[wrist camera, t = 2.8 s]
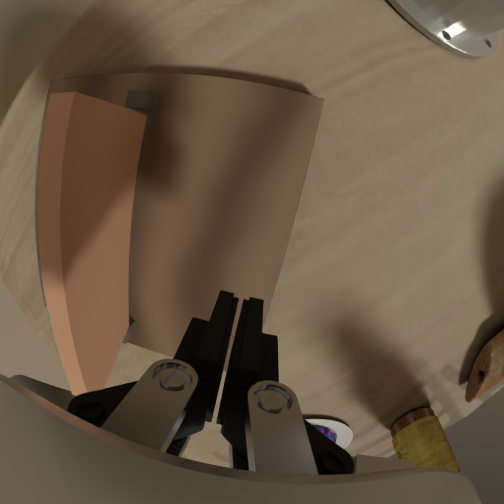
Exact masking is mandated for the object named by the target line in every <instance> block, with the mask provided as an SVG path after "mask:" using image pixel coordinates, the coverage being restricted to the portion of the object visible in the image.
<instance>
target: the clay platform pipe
mask: <svg viewBox="0 0 504 504" xmlns="http://www.w3.org/2000/svg"><path fill="white" fill-rule="evenodd" d="M503 379H504V329H503V330H502V331H501V332H499V333H498V334H497V335H496V336H494V337H493V338H492V339H491V340H489V342H488V343H487V344H486V345H485V346H484V348H483V349H482V350H481V352H480V353H479V355H478V356H477V358H476V360H475V362H474V364H473V368H472V370H471V373H470V376H469V379H468V384H467V387H466V395H465V399H466V401H467V402H468V403H470V402H472V401H473V400H474V399H476V398H477V397H479V396H480V395H482V394H483V393H485V392H486V391H488V390H489V389H491V388H492V387H494V386H495V385H496V384H498V383H499V382H501V381H502V380H503Z"/></svg>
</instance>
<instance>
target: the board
mask: <svg viewBox="0 0 504 504" xmlns="http://www.w3.org/2000/svg"><path fill="white" fill-rule="evenodd" d="M64 92H77V93H81V94H84V95H88V96H91V97H94V98H97V99H100V100H103V101H107V102H110V103H113V104H115V105H118V106H121V107H124V108H127V109H130V110H133V111H135V112H138V113H141V114H143V115H146V116H147V119H146V124H145V129H144V134H143V139H142V144H141V150H140V156H139V162H138V169H137V176H136V183H135V191H134V200H133V209H132V220H131V233H130V250H129V282H128V300H129V328H128V330H127V332H126V334H125V337H124V339H123V341H122V343H125V344H126V342H129V343H132V344H134V345H137V346H140V347H143V348H146V349H149V350H152V351H155V352H158V353H161V354H164V355H167V356H171V357H174V356H175V354H176V351H177V349H178V347H179V345H180V343H181V341H182V338H183V336H184V334H185V332H186V330H187V328H188V326H189V323H190V321H191V319H192V318H193V317H195V318H199V319H203V320H207V321H209V320H210V317H211V314H212V312H213V309H214V306H215V304H216V301H217V298H218V296H219V293H220V290H223V291H227V292H232V293H234V297H237V298H239V301H238V305H237V310H236V314H235V319H234V323H233V328H232V332H231V337H230V341H229V346H228V350H227V355H226V360H225V364H224V368H223V371H227V368H228V363H229V358H230V353H231V349H232V345H233V341H234V337H235V332H236V328H237V324H238V320H239V316H240V312H241V307H242V303H243V299H246V300H249V297H254V298H258V299H263V300H264V305H263V325H262V330H263V326H264V323H265V320H266V317H267V313H268V310H269V307H270V303H271V300H272V297H273V293H274V290H275V286H276V283H277V280H278V276H279V273H280V269H281V266H282V262H283V259H284V255H285V252H286V248H287V244H288V241H289V237H290V234H291V230H292V226H293V223H294V219H295V215H296V211H297V208H298V204H299V200H300V196H301V192H302V188H303V185H304V181H305V177H306V173H307V169H308V165H309V161H310V157H311V153H312V148H313V144H314V140H315V136H316V132H317V127H318V123H319V119H320V114H321V110H322V106H323V101H324V99H323V98H320V97H316V96H313V95H309V94H305V93H302V92H298V91H294V90H289V89H285V88H281V87H276V86H271V85H267V84H261V83H256V82H250V81H244V80H238V79H231V78H223V77H215V76H206V75H194V74H179V73H117V74H102V75H92V76H83V77H75V78H68V79H62V80H56V81H51V83H50V87H49V91H48V95H47V100H46V104H45V109H44V114H43V120H42V126H41V132H40V139H39V147H38V156H37V167H36V184H35V228H36V244H37V256H38V265H39V273H40V280H41V287H42V293H43V299H44V304H45V306H46V301H45V295H44V289H43V283H42V276H41V268H40V259H39V248H38V233H37V180H38V165H39V154H40V145H41V138H42V131H43V125H44V119H45V114H46V109H47V104H48V101H49V98H50V94H52V93H64ZM46 307H47V306H46Z"/></svg>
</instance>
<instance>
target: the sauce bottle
mask: <svg viewBox="0 0 504 504" xmlns="http://www.w3.org/2000/svg"><path fill="white" fill-rule="evenodd" d="M391 435H392V438H393V440H392V443H393V446H394V449H395V452H396V456H397V459H405V460H409V461H411V462H412V463H414V465H415V466H416V467H438V468H445V469H450V470H454V471H457V472H460V468H459V466H458V463H457V461H456V459H455V456H454V453H453V451H452V449H451V446H450V444H449V442H448V440H447V437H446V435H445V433H444V430H443V428H442V426H441V424H440V422H439V420H438V418H437V416H435V414H434V412H433V410H432V409H431V408H429V407H424V408H419V409H416V410H413V411H411V412H409V413H407V414H406V415H404V416H403V417H401V418H400V419H398V420H397V421H396V422H395V423H394V425H393V426H392V428H391Z"/></svg>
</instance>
